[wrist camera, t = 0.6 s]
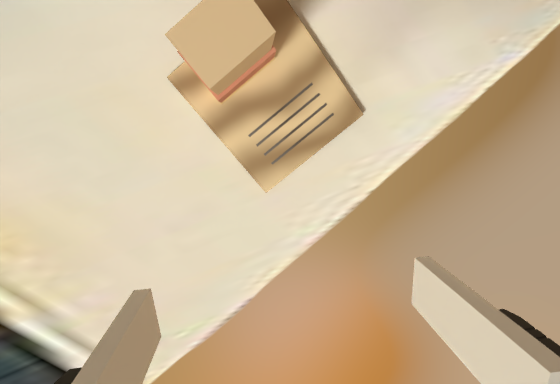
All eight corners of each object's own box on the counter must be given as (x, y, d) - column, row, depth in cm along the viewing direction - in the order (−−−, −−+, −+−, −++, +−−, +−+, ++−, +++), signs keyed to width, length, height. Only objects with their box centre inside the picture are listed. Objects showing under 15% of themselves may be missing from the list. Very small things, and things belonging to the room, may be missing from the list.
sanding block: (185, 59, 31) (155, 33, 22) (240, 11, 31) (234, -39, 21) (221, 104, 33) (209, 97, 23) (274, 59, 32) (284, 33, 23)
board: (168, 78, 32) (166, 77, 32) (274, -16, 31) (274, -19, 30) (265, 191, 37) (266, 192, 36) (361, 114, 35) (363, 114, 35)
